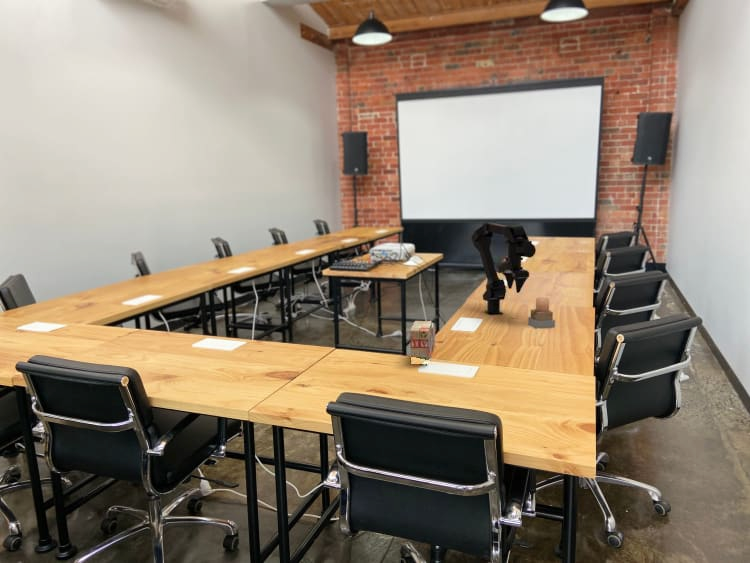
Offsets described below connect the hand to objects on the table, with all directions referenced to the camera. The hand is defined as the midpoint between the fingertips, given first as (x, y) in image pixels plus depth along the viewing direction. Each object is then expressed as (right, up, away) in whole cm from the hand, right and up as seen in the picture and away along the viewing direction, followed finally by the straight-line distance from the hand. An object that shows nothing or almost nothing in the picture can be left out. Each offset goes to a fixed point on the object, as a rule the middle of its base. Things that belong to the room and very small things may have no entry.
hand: (513, 290), depth 235 cm
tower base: (+9, -15, -8) cm, 19 cm away
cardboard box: (-43, -23, -42) cm, 64 cm away
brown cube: (+9, -8, -10) cm, 16 cm away
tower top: (+9, -12, -9) cm, 17 cm away
